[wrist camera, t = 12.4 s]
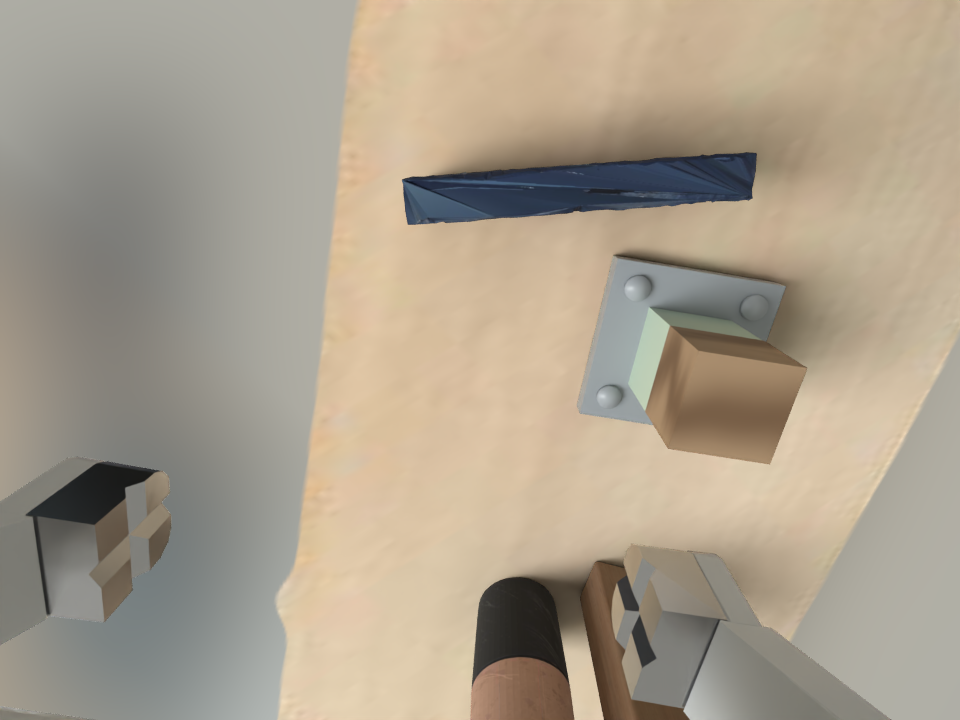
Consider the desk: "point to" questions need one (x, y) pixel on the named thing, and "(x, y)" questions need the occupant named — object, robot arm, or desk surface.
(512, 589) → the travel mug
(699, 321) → the green brick
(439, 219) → the vhs cassette tape
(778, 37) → the desk surface
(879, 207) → the desk surface
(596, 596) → the wooden block
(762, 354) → the walnut brick
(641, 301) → the base plate
